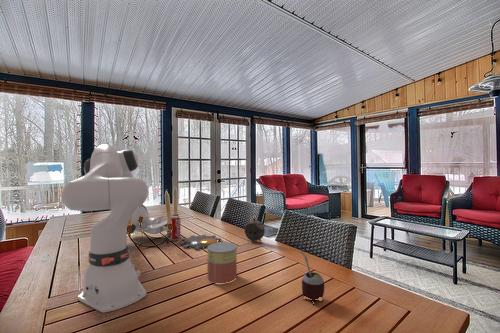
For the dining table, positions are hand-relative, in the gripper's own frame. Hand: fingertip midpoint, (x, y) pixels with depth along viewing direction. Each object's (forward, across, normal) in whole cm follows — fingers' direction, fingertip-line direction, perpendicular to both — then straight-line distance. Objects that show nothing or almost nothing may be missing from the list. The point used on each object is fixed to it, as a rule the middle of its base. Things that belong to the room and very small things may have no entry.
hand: (174, 227), depth 142 cm
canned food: (+43, -34, +8) cm, 56 cm away
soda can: (-1, 0, +8) cm, 8 cm away
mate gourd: (+77, -40, +8) cm, 87 cm away
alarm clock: (+43, +10, +8) cm, 45 cm away
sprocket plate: (+16, 0, +7) cm, 18 cm away
